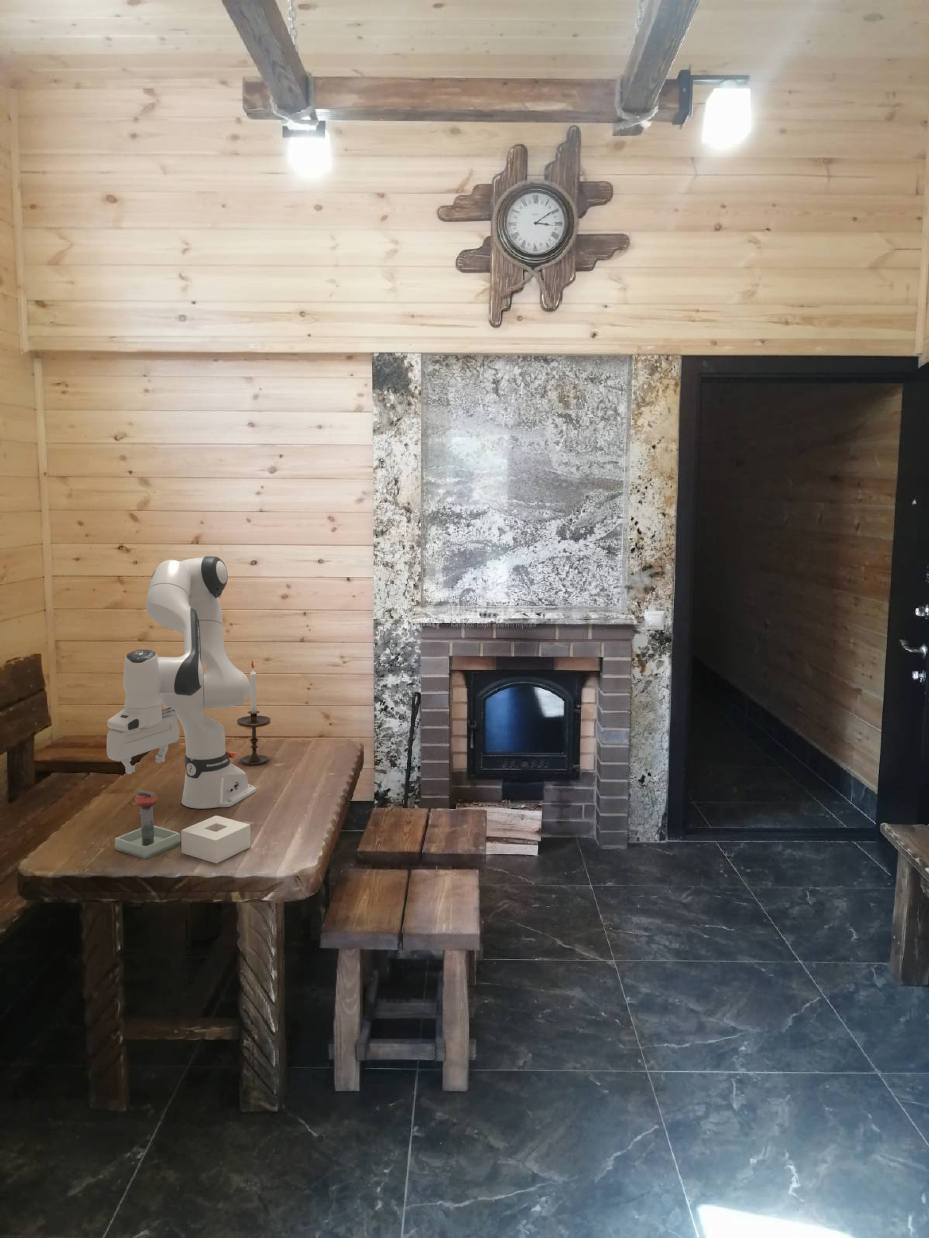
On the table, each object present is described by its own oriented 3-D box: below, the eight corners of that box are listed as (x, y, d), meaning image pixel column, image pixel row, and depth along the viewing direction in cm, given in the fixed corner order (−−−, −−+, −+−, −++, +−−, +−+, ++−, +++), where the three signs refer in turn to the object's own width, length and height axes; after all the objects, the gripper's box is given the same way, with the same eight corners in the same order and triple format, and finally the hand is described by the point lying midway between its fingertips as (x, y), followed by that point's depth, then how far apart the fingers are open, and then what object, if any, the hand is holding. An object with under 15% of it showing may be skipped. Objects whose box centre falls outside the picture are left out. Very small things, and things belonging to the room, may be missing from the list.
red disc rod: (163, 842, 229) (161, 791, 227) (147, 849, 225) (144, 797, 222) (149, 838, 232) (147, 787, 229) (133, 844, 227) (130, 793, 225)
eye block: (216, 836, 235) (216, 815, 234) (250, 846, 229) (250, 824, 228) (181, 852, 225) (181, 830, 224) (216, 863, 219) (215, 840, 218)
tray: (150, 834, 236) (150, 824, 235) (180, 844, 230) (180, 833, 230) (115, 849, 226) (114, 838, 226) (145, 859, 221) (145, 847, 220)
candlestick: (260, 768, 292) (259, 663, 286) (231, 764, 295) (229, 661, 289) (276, 758, 302) (275, 657, 297) (248, 755, 305) (246, 655, 300)
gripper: (167, 703, 233) (168, 753, 236) (101, 722, 216) (103, 776, 218) (184, 707, 230) (185, 758, 233) (118, 727, 212) (121, 782, 215)
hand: (145, 767), depth 225 cm, fingers open, 8 cm apart
